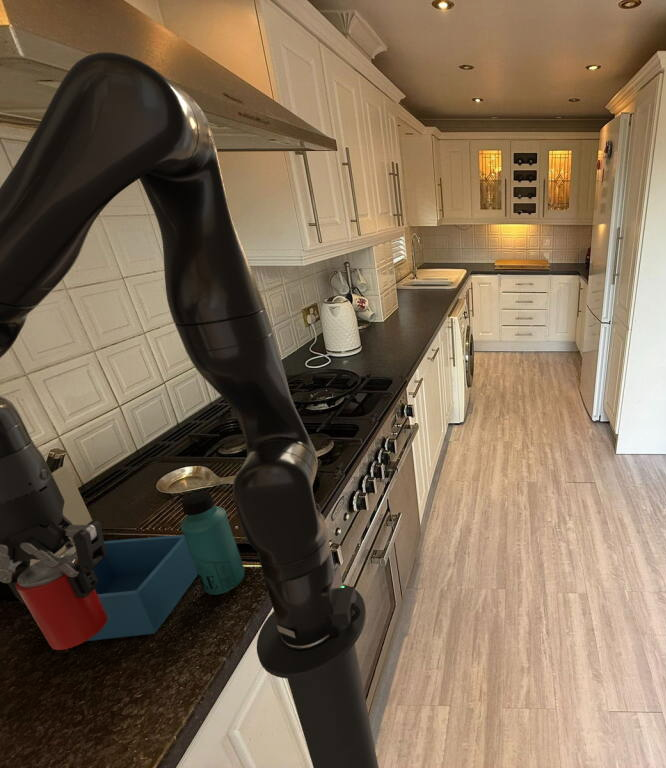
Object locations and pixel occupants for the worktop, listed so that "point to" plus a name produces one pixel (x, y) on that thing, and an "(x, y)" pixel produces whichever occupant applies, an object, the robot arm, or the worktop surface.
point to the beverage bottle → (211, 544)
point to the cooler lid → (69, 501)
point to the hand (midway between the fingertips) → (61, 594)
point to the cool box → (142, 583)
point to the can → (60, 606)
